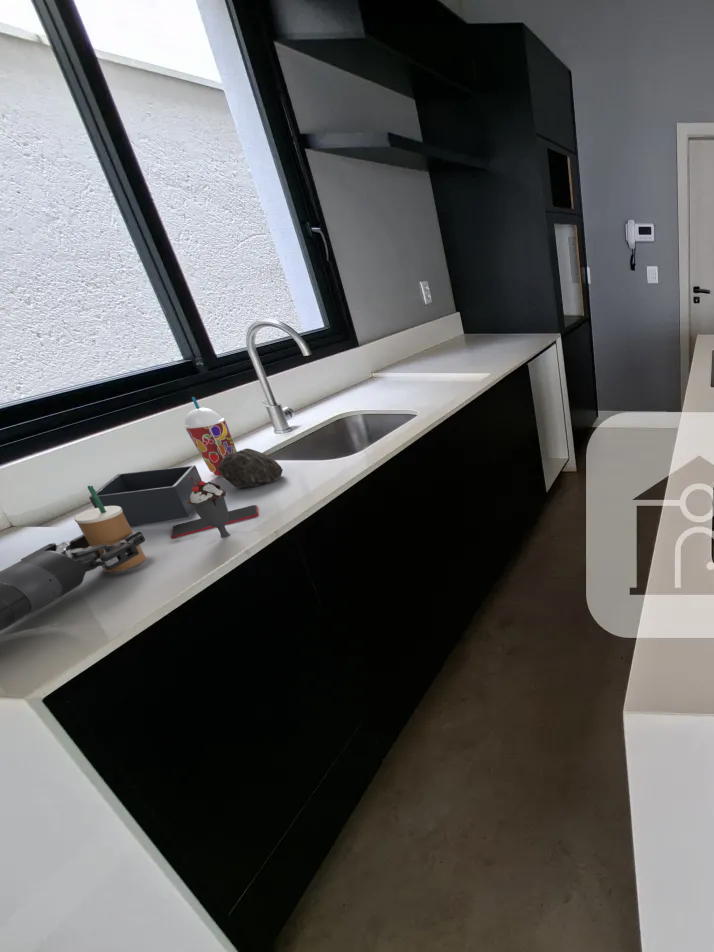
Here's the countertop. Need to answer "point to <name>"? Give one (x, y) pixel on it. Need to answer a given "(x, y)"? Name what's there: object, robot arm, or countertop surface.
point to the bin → (151, 494)
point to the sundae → (210, 505)
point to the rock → (249, 468)
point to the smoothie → (209, 436)
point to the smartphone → (201, 526)
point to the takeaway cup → (107, 529)
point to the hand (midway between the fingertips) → (117, 536)
